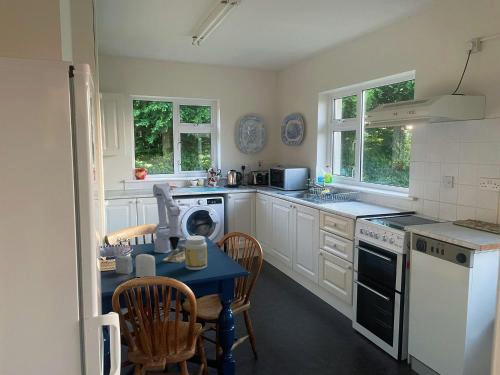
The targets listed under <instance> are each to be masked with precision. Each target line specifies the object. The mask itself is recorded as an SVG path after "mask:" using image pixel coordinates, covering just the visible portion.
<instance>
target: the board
mask: <svg viewBox="0 0 500 375" xmlns="http://www.w3.org/2000/svg"><path fill="white" fill-rule="evenodd" d="M184 261H185V248H183V252H179V251H178V252H177V255H173V252H171V253H170V254H167V257H165V258H163V259H162V262H171V263H179V264H181V263H182V262H184Z"/></svg>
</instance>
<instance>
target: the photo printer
mask: <svg viewBox="0 0 500 375" xmlns="http://www.w3.org/2000/svg"><path fill="white" fill-rule="evenodd" d="M144 276H155V277H156V257H155V256H154V255H152V254H147V253H140V254H137V255H135V277H136V278H137V277H144Z"/></svg>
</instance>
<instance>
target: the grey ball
mask: <svg viewBox="0 0 500 375" xmlns="http://www.w3.org/2000/svg"><path fill="white" fill-rule="evenodd" d="M177 248H178V249H179V252H183V248H185V245H184V243H181V244H178V245H177Z"/></svg>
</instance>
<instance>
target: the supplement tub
mask: <svg viewBox="0 0 500 375" xmlns="http://www.w3.org/2000/svg"><path fill="white" fill-rule="evenodd" d="M185 239H186V240H185V242H186V244H185V266H184V267H185V269H187V270H191V271H200V270H203V269H205V268H207V266H208V247H207V246H208V244H207V242H206V237H205V236H204V235H190V236H187V237H186V238H185Z"/></svg>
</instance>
